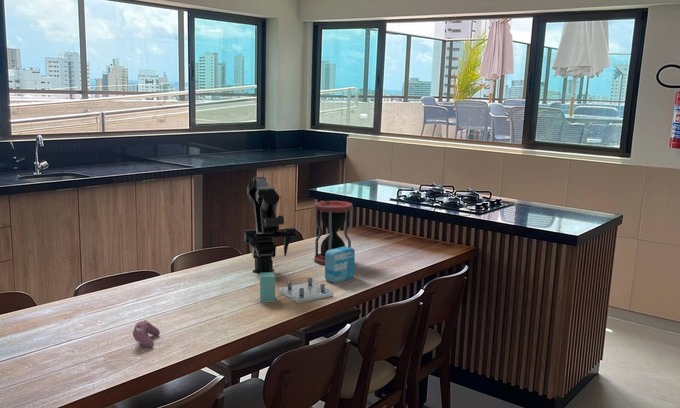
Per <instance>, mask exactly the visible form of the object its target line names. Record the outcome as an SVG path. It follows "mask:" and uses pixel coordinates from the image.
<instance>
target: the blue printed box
mask: <svg viewBox="0 0 680 408" xmlns="http://www.w3.org/2000/svg"><path fill="white" fill-rule="evenodd" d="M355 253H356V252H355V249H354V248H353V247H351V248H349V247H348V246H346V245H345V246H344V247H340V248H336V249H332V250H328V251H327V252H326V253H325V265H324V278H325V281H328V282H331V283H333V284H336V283H339V282H342V281H347V280H349V279H352V278H354V276H355V261H356V260H355V256H356V255H355Z"/></svg>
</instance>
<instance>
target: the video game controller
mask: <svg viewBox="0 0 680 408" xmlns="http://www.w3.org/2000/svg"><path fill="white" fill-rule="evenodd" d="M150 335H151V336H156V337H158V336H159V335H161V331H160V329H159V328H158V327H157V326H155V325H153V324H151V323H150V322H149V321H148V320H146V319H144V320H140V321H138V322H137V323H136V324H135V325H134V330H132V337H133V338H134V340H135V341H136V342H138V343H140V344H141V345H142V346H144V347H146V348H153V347H154V346H155V343H154V341H153V339H152V338H150Z"/></svg>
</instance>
